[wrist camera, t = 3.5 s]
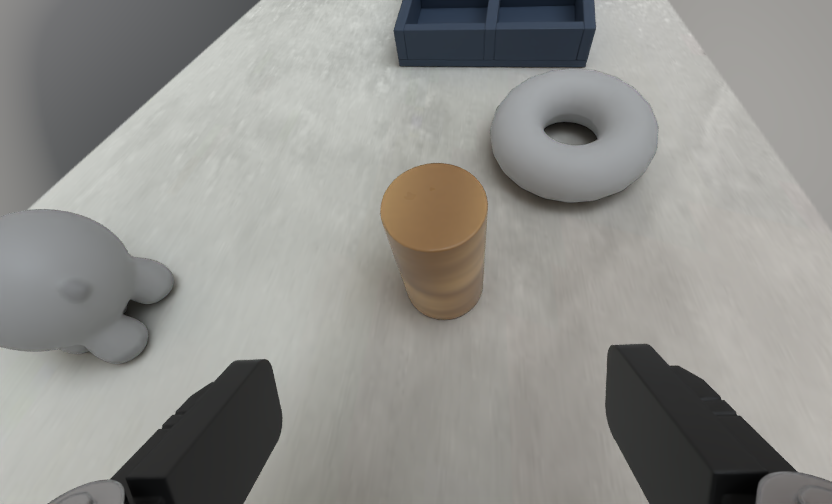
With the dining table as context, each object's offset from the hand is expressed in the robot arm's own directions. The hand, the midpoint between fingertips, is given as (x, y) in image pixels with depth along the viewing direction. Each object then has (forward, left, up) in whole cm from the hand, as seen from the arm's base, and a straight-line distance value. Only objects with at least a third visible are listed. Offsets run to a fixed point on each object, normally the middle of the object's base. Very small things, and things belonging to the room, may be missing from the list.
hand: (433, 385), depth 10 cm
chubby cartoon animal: (+23, -4, -12) cm, 26 cm away
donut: (-5, -18, -12) cm, 22 cm away
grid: (0, -34, -12) cm, 36 cm away
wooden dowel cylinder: (+1, -8, -12) cm, 14 cm away
